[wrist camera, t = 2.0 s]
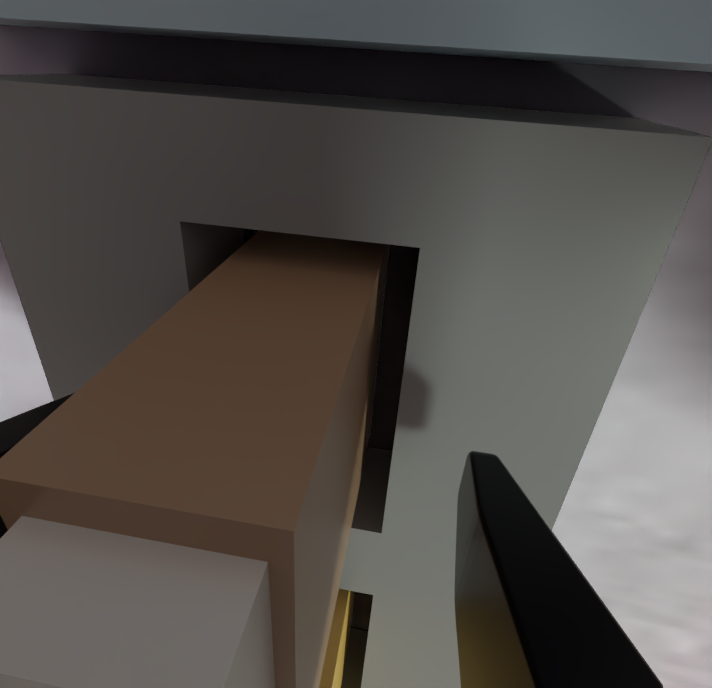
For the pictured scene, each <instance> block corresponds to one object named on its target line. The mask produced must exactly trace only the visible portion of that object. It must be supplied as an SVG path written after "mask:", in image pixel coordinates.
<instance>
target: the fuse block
mask: <svg viewBox="0 0 712 688" xmlns="http://www.w3.org/2000/svg"><path fill="white" fill-rule="evenodd" d="M711 144H712V137H710V136H706V135H702V134H698V133H694V132H690V131H686V130H682V129H678V128H674V127H670V126H666V125H662V124H658V123H654V122H650V121H646V120H642V119H639V118H626V117H613V116H600V115H587V114H575V113H562V112H549V111H536V110H523V109H510V108H497V107H484V106H472V105H459V104H446V103H433V102H420V101H407V100H394V99H382V98H369V97H356V96H343V95H330V94H317V93H304V92H291V91H279V90H266V89H253V88H240V87H227V86H214V85H201V84H189V83H176V82H163V81H150V80H137V79H124V78H111V77H99V76H86V75H73V74H39V75H0V240H1V243H2V246H3V249H4V252H5V255H6V258H7V261H8V264H9V267H10V270H11V273H12V276H13V279H14V282H15V285H16V288H17V291H18V294H19V297H20V300H21V303H22V306H23V309H24V312H25V315H26V318H27V321H28V324H29V327H30V330H31V333H32V336H33V339H34V342H35V345H36V348H37V351H38V354H39V357H40V360H41V363H42V366H43V369H44V372H45V375H46V378H47V381H48V384H49V387H50V390H51V393H52V396H53V399H54V401H55V400H57V399H60V398H62V397H65V396H67V395H70V394H72V393H75V392H76V391H78V390H79V389H80V388H81V387H82V386H83V385H84V384H85V383H87V382H88V381H89V380H90V379H91V378H92V377H93V376H95V375H96V374H97V373H98V372H99V371H100V370H101V369H103V368H104V367H105V366H106V365H107V364H108V363H109V362H110V361H112V360H113V359H114V358H115V357H116V356H117V355H118V354H120V353H121V352H122V351H123V350H124V349H125V348H126V347H128V346H129V345H130V344H131V343H132V342H133V341H134V340H135V339H137V338H138V337H139V336H140V335H141V334H142V333H143V332H145V331H146V330H147V329H148V328H149V327H150V326H151V325H153V324H154V323H155V322H156V321H157V320H158V319H159V318H160V317H162V316H163V315H164V314H165V313H166V312H167V311H168V310H170V309H171V308H172V307H173V306H174V305H175V304H176V303H178V302H179V301H180V300H181V299H182V298H183V297H184V296H185V295H187V294H188V293H189V292H190V291H191V290H192V289H193V288H195V287H196V286H197V285H198V284H199V283H200V282H201V281H203V280H204V279H205V278H206V277H207V276H208V275H209V274H210V273H212V272H213V271H214V270H215V269H216V268H217V267H218V266H220V265H221V264H222V263H223V262H224V261H225V260H226V259H228V258H229V257H230V256H231V255H232V254H233V253H234V252H236V251H237V250H238V249H239V248H240V247H241V246H242V245H243V244H244V228H245V229H254V230H263V231H272V232H281V233H290V234H299V235H308V236H317V237H326V238H335V239H344V240H353V241H362V242H371V243H380V244H389V245H399V246H408V247H417V248H420V250H419V258H418V265H417V273H416V280H415V288H414V295H413V303H412V310H411V317H410V325H409V332H408V340H407V347H406V355H405V362H404V370H403V377H402V384H401V392H400V399H399V407H398V414H397V422H396V429H395V437H394V444H393V451H391V450H385V449H378V448H372V447H367V452H366V457H365V462H364V466H363V471H362V476H361V481H360V486H359V491H358V496H357V501H356V506H355V511H354V516H353V521H352V526H351V531H350V536H349V541H348V546H347V551H346V556H345V561H344V566H343V571H342V576H341V580H340V585H339V589H344V590H349V591H354V592H360V593H365V594H370V595H373V600H372V608H371V615H370V623H369V630H368V631H363V630H358V629H353V628H350V634H349V640H348V646H347V653H346V659H345V665H344V671H343V677H342V683H341V688H461V681H460V669H459V656H458V644H457V631H456V619H455V557H456V529H457V502H458V492H459V487H460V483H461V479H462V475H463V471H464V467H465V462H466V458H467V455H468V454H469V452H471V451H478V452H484V453H491V454H495V455H496V456H498V457H499V458H500V460H501V461H502V463H503V464H504V465H505V467H506V468H507V469H508V471H509V472H510V474H511V475H512V476H513V478H514V479H515V481H516V482H517V483H518V485H519V486H520V488H521V489H522V490H523V492H524V493H525V494H526V496H527V497H528V499H529V500H530V501H531V503H532V504H533V506H534V507H535V508H536V510H537V511H538V513H539V514H540V515H541V517H542V518H543V519H544V521H545V522H546V524H547V525H548V526H549V528H550V529H551V530H552V528H553V526H554V523H555V521H556V518H557V516H558V514H559V511H560V509H561V506H562V504H563V501H564V499H565V497H566V494H567V492H568V489H569V487H570V485H571V482H572V480H573V477H574V475H575V472H576V470H577V468H578V465H579V463H580V460H581V458H582V456H583V453H584V451H585V448H586V446H587V443H588V441H589V439H590V436H591V434H592V431H593V429H594V427H595V424H596V422H597V419H598V417H599V415H600V412H601V410H602V407H603V405H604V402H605V400H606V398H607V395H608V393H609V390H610V388H611V386H612V383H613V381H614V378H615V376H616V373H617V371H618V369H619V366H620V364H621V361H622V359H623V357H624V354H625V352H626V349H627V347H628V344H629V342H630V340H631V337H632V335H633V332H634V330H635V328H636V325H637V323H638V320H639V318H640V315H641V313H642V311H643V308H644V306H645V303H646V301H647V299H648V296H649V294H650V291H651V289H652V286H653V284H654V282H655V279H656V277H657V274H658V272H659V270H660V267H661V265H662V262H663V260H664V258H665V255H666V253H667V250H668V248H669V245H670V243H671V241H672V238H673V236H674V233H675V231H676V229H677V226H678V224H679V221H680V219H681V216H682V214H683V212H684V209H685V207H686V204H687V202H688V200H689V197H690V195H691V192H692V190H693V187H694V185H695V183H696V180H697V178H698V175H699V173H700V171H701V168H702V166H703V163H704V161H705V158H706V156H707V154H708V151H709V149H710V146H711Z"/></svg>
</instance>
